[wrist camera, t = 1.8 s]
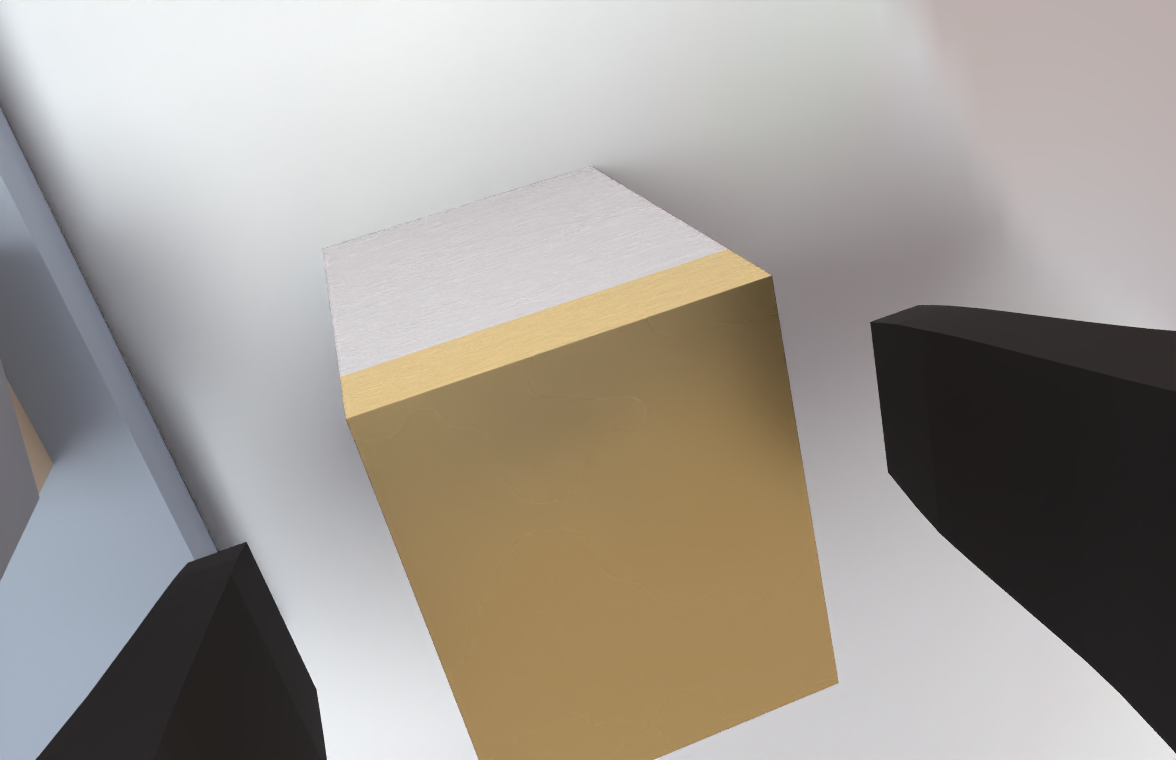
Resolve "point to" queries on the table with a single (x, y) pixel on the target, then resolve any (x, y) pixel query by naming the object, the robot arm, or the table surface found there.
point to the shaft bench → (71, 479)
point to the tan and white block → (585, 468)
